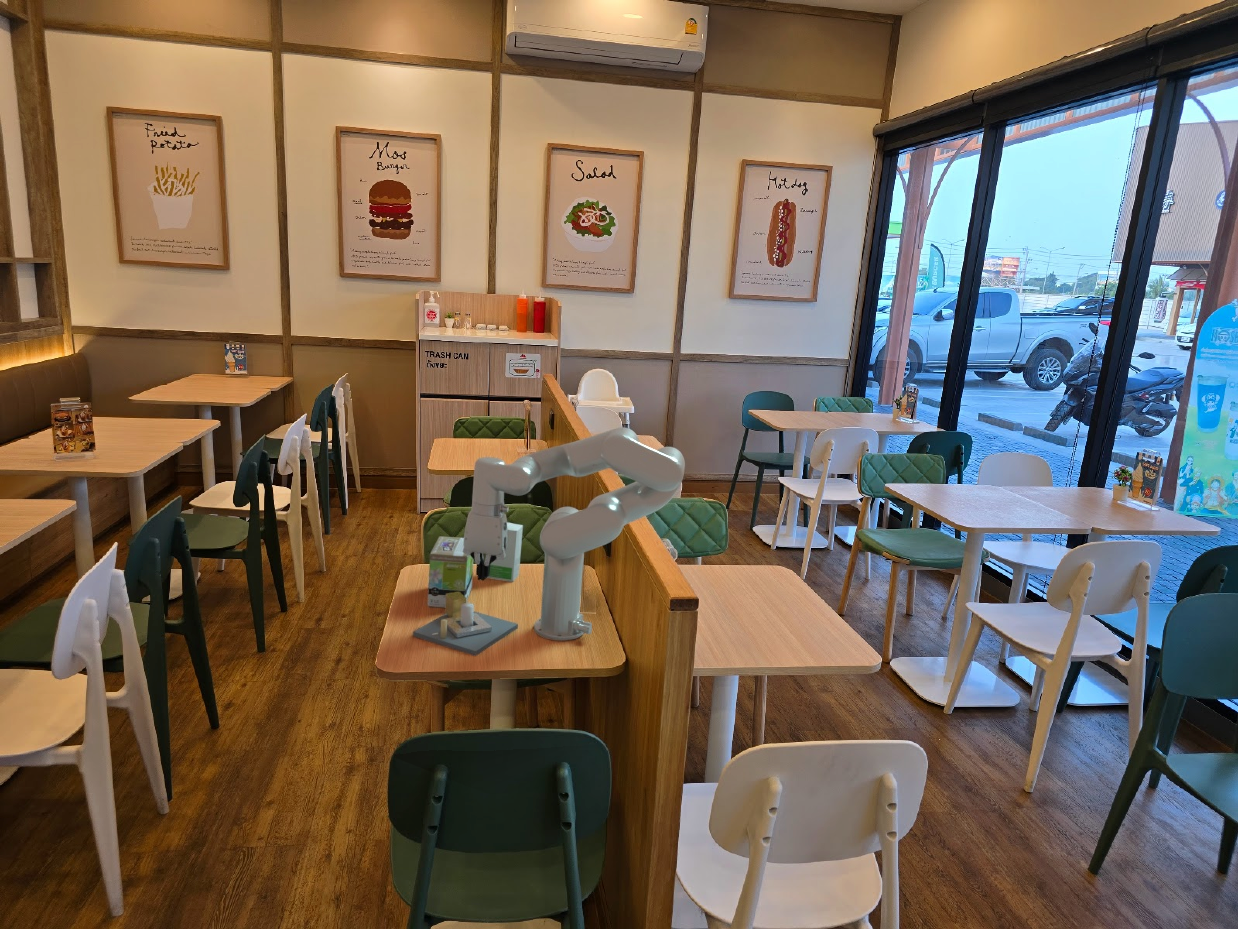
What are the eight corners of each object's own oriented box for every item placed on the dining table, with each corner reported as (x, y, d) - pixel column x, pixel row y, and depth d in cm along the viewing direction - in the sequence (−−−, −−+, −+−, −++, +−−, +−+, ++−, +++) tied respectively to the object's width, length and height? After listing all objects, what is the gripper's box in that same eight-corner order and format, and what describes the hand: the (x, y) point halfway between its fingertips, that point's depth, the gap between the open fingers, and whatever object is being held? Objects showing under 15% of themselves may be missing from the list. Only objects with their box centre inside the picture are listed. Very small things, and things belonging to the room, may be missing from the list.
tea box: (465, 609, 212) (467, 555, 209) (426, 607, 211) (427, 553, 208) (472, 587, 227) (474, 536, 223) (436, 585, 226) (437, 534, 223)
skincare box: (485, 578, 234) (488, 526, 230) (493, 570, 240) (495, 520, 236) (514, 582, 232) (516, 530, 229) (520, 574, 239) (523, 523, 235)
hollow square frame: (491, 630, 198) (492, 609, 196) (456, 637, 193) (457, 616, 191) (468, 609, 208) (469, 589, 207) (434, 616, 203) (435, 595, 202)
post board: (517, 628, 203) (519, 602, 202) (475, 656, 187) (476, 627, 186) (458, 611, 211) (459, 585, 209) (412, 636, 195) (413, 608, 193)
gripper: (521, 508, 201) (515, 578, 206) (463, 499, 204) (459, 568, 208) (512, 517, 194) (506, 589, 198) (452, 507, 196) (448, 579, 201)
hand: (482, 578), depth 203 cm, fingers closed
